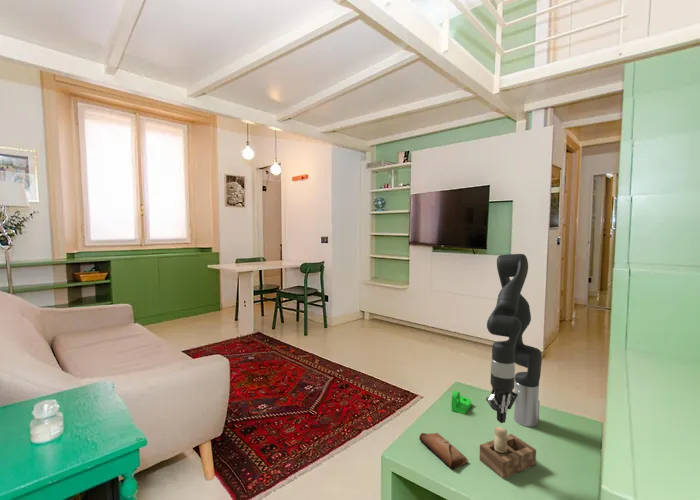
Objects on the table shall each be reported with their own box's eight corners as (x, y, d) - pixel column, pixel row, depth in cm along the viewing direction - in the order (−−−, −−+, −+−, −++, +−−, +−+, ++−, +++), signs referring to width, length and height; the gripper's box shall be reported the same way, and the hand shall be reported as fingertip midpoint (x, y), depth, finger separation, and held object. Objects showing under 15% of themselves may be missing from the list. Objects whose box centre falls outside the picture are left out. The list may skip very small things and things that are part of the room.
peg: (499, 458, 118) (500, 425, 117) (509, 465, 114) (510, 431, 114) (491, 461, 116) (491, 428, 116) (500, 468, 113) (501, 435, 112)
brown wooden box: (511, 449, 125) (511, 433, 124) (535, 466, 115) (536, 449, 115) (479, 461, 118) (479, 444, 118) (502, 480, 109) (503, 462, 109)
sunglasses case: (470, 459, 116) (461, 449, 114) (458, 476, 114) (449, 466, 112) (435, 431, 133) (427, 422, 130) (424, 446, 130) (416, 436, 128)
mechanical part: (464, 414, 148) (464, 397, 148) (451, 410, 152) (451, 393, 152) (472, 403, 158) (473, 387, 157) (460, 399, 161) (460, 383, 161)
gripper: (507, 365, 120) (505, 412, 121) (479, 371, 114) (478, 420, 115) (525, 373, 113) (524, 422, 114) (497, 380, 107) (496, 432, 108)
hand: (501, 421), depth 114 cm, fingers closed
